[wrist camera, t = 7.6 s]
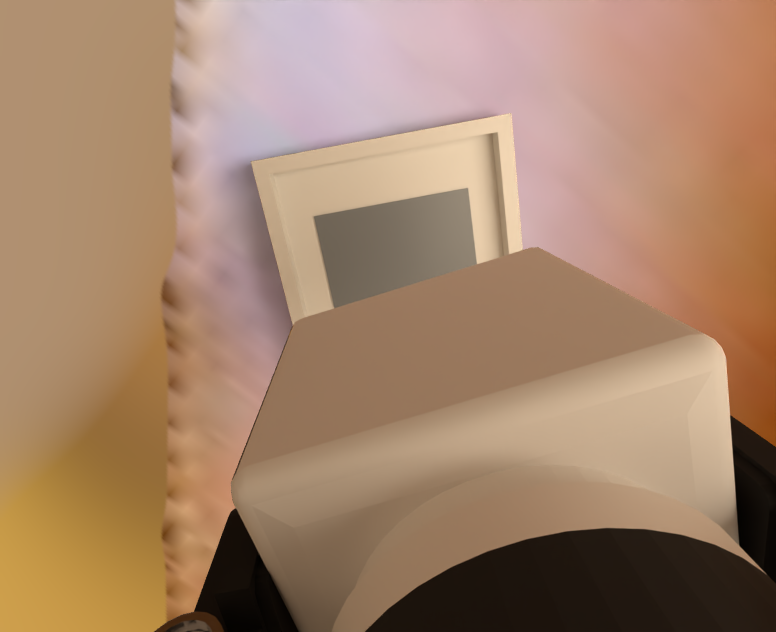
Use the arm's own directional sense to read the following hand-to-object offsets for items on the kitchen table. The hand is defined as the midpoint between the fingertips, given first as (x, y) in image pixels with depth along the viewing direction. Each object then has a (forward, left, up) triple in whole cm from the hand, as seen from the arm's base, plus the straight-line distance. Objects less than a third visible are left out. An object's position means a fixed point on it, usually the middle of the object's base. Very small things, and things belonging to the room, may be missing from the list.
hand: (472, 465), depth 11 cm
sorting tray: (0, 0, -20) cm, 20 cm away
